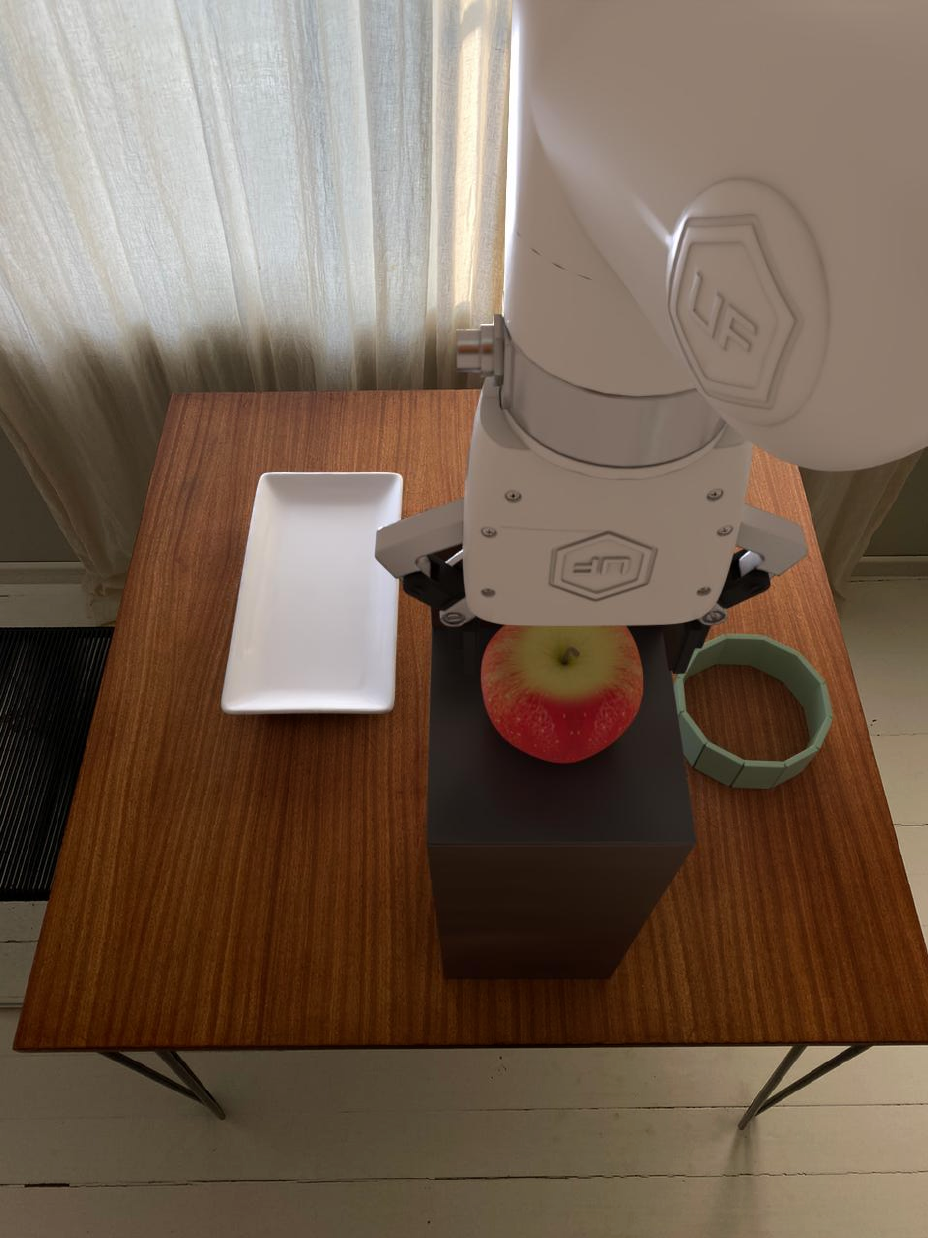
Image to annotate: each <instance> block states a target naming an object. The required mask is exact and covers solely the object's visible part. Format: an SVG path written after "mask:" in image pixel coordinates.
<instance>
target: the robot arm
mask: <svg viewBox="0 0 928 1238" xmlns="http://www.w3.org/2000/svg"><path fill="white" fill-rule="evenodd" d="M511 7H512V8H511V11H512V12H511V37H510V38H511V39H510V65H509V66H510V67H509V68H510V69H509V70H510V71H509V102H508V103H509V105H508V130H507V131H508V133H507V134H508V135H507V161H506V162H507V165H506V166H507V167H506V170H507V171H506V196H505V197H506V199H505V232H504V234H505V236H504V268H503V269H504V270H503V271H504V272H503V273H504V274H503V276H504V277H503V290H502V303H501V304H502V305H501V306H502V309H501V313H493V316H492V323H491V324H489V323H488V324H487V323H485V324H480V325H479V327H480V328H464V329H463V328H462V329H461V328H458V329H456V373H457V374H459V373H460V374H463V373H464V374H466V373H467V374H468V373H469V374H470V373H471V374H474V373H478V374H479V373H480V374H479V375H480V378H485V379H484V382H483V385H482V389H481V392H480V395H479V399H478V403H477V405H476V410H475V415H474V417H473V418H474V419H473V425H472V431H471V436H470V442H469V447H468V454H467V460H466V471H465V481H464V493H463V494H464V496H463V497H460V498H457V499H455V500H452V501H450V502H446V503H443V504H441V505H438V506H435V507H433V508H429V509H430V510H427V511H425V510H424V511H422V512H419V513H415V514H413V515H411V516H408V517H405V518H403V519H402V518H401V520H399V521H396V522H393V523H391V524H388V525H385V526H382V527H380V528H379V529H378V530H377V532H376V546H375V558H376V560H377V561H378V562H379V563H380V564H381V565H382V566H383V567H384V568H385V569H386V570H387V571H388V572H389V573H390V574H391V575H392V576H393V577H394V578H395V579H397V578H398V579H399V582H401V583H402V590H403V592H404V593H405V594H406V595H407V596H410V597H412V598H413V599H416V600H417V601H419V602H421V603H423V604H425V605H426V606H428V607H429V608H430V607H432V608H434V609H436V610H437V611H439V612H440V621H441V623H442V624H444V625H446V626H448V639H449V650H464V675H475V672H479V618H481V619H483V620H486V621H489V622H493V623H498V624H505V625H524V626H618V625H662V630H663V637H664V643H665V650H666V657H667V663H668V669H669V671H671V672H672V675H678V674H685V673H686V670H687V668H688V665H689V663H690V660H691V658H692V655H693V652H694V650H695V649H701V648H702V647H703V645H704V643H706V639H707V638H708V635H709V632H710V630H711V627H712V626H717V625H720V624H722V623H725V622H726V621H727V620H728V618H729V614H728V609H730V608H733V607H735V606H737V605H739V604H742V603H744V602H745V601H749V600H750V599H752V598H755V597H757V596H759V595H761V594H762V593H765V592H766V591H768V590H769V589H770V588H771V584H772V583H771V580H772V579H773V578H775V577H780V576H782V575H783V574H784V573H786V572H787V571H788V570H790V569H791V568H792V567H794V566H795V565H796V564H798V563H799V562H800V561H802V560H803V559H804V558H806V556H807V555H808V554H809V548H808V545H807V544H808V543H807V541H806V537H805V534H804V530H803V526H802V525H801V524H800V523H797V522H795V521H792V520H790V519H787V518H785V517H782V516H780V515H777V514H775V513H771V512H769V511H767V510H764V509H761V508H759V507H757V506H753V505H751V504H750V503H749V504H748V503H747V502H746V497H747V492H748V487H749V483H750V482H749V481H750V475H751V468H752V460H753V454H754V446H756V447H757V448H759V449H761V450H762V451H764V452H765V453H767V454H768V455H770V456H772V457H774V458H775V459H777V460H780V461H782V462H785V463H787V464H790V465H793V466H797V467H800V468H804V469H808V470H813V471H821V472H848V471H849V472H851V471H860V470H866V469H871V468H875V467H878V466H882V465H885V464H889V463H891V462H895V461H897V460H900V459H904V458H906V457H907V456H910V455H912V454H914V453H917V452H918V451H920V450H922V449H924V448H927V447H928V0H512V5H511ZM460 544H463V549H462V550H461V551H460V552H458V553H457V554H456V555H455V556H453V557H452V558H451V559H449V560H448V561H447V562H444V561H442V560H441V559H439V558H437V557H435V556H434V555H432V554H433V553H436V552H439V551H442V550H445V549H448V548H451V547H454V546H457V545H460ZM736 547H737V548H740V550H738V551H736V552H735V549H736Z"/></svg>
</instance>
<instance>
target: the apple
mask: <svg viewBox="0 0 928 1238" xmlns="http://www.w3.org/2000/svg"><path fill="white" fill-rule="evenodd" d="M481 686H482V692H483V698H484V702H485V706H486V709H487V712H488V714H489V717H490V719H491V721H492V723H493V725H494V727H495V728H496V730H497V731H498V732H499V733H500V734H501V736H502V737H503V738H504V739H506V740H507V741H508V742H509V743H510V744H512V745H513V746H515V747H516V748H518V749H520V750H521V751H523V752H525V753H527V754H529V755H532V756H534V757H536V758H539V759H542V760H546V761H550V762H555V763H572V762H577V761H581V760H583V759H586V758H588V757H590V756H592V755H594V754H596V753H598V752H599V751H601V750H603V749H604V748H606V747H607V746H609V745H610V744H611V743H613V742H614V741H615V740H616V739H617V738H618V737H619V736H620V735H622V733H623V732H624V731H625V730H626V729H627V728H628V727H629V726H630V724H631V723H632V721H633V720H634V718H635V716H636V714H637V712H638V710H639V707H640V703H641V699H642V694H643V671H642V665H641V660H640V656H639V652H638V649H637V646H636V643H635V641H634V639H633V636H632V635H631V633H630V631H629V629H628V628H627V627H626V625H618V626H524V625H504V626H503V627H502V628H501V629H500V630H499V631H498V632H497V633H496V634H495V635H494V637H493V638H492V639H491V640H490V642H489V644H488V645H487V648H486V650H485V653H484V656H483V660H482V667H481Z"/></svg>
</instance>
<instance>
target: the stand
mask: <svg viewBox="0 0 928 1238" xmlns="http://www.w3.org/2000/svg"><path fill="white" fill-rule="evenodd" d="M430 509H431V508H429V509H428V508H427V509H426V508H425V509H424V511H427V510H430ZM462 549H463V544H460V545H457V546H454V547H451V548H448V549H445V550H442V551H439V552H436V553H433V554H432V555H434V556H435V557H437V558H439V559H441V560H442V561H444V562H447V561H448V560H449V559H451V558H452V557H453V556H455V555H456V554H457V553H458V552H460V551H461V550H462ZM429 610H430V623H431V626H430V627H431V641H430V643H431V644H430V675H429V677H430V678H429V679H430V680H429V714H428V752H427V753H428V754H427V756H428V757H427V789H426V790H427V791H426V793H427V794H426V829H425V833H426V834H425V839H426V840H425V844H426V852H427V858H428V867H429V873H430V881H431V883H430V884H431V888H432V889H431V890H432V897H433V904H434V912H435V913H434V914H435V920H436V927H437V929H436V930H437V937H438V945H439V951H440V959H441V965H442V966H441V967H442V975H443V979H444V980H610V979H611V978H612V976H613V975H614V974H615V972H616V970H617V969H618V967H619V966H620V964H621V963H622V961H623V959H624V958H625V956H626V954H627V953H628V951H629V950H630V948H631V946H632V945H633V943H634V942H635V940H636V939H637V938H638V935H639V934H640V932H641V930H642V929H643V927H644V926H645V924H646V923H647V921H648V919H649V918H650V916H651V915H652V914H653V912H654V910H655V908H657V905H658V903H659V902H660V901H661V899H662V897H663V896H664V894H665V893H666V891H667V890H668V889H669V887H670V885H671V884H672V882H673V880H674V878H675V877H676V876H677V874H678V872H679V871H680V869H681V868H682V866H683V865H684V862H685V861H686V860H687V858H688V857H689V855H690V854H691V851H692V850H693V849H694V847H695V845H697V843H698V839H697V833H696V827H695V826H696V825H695V819H694V814H693V805H692V801H691V799H692V798H691V793H690V787H689V786H690V785H689V779H688V773H687V767H686V758H685V756H684V752H683V746H682V739H681V732H680V726H679V719H678V712H677V706H676V699H675V692H674V679H673V672H672V671H669V669H668V663H667V657H666V650H665V643H664V637H663V630H662V625H626V627H627V628H628V629H629V631H630V633H631V635H632V636H633V639H634V641H635V643H636V646H637V649H638V652H639V656H640V660H641V665H642V671H643V694H642V699H641V703H640V707H639V710H638V712H637V714H636V716H635V718H634V720H633V721H632V723H631V724H630V726H629V727H628V728H627V729H626V730H625V731H624V732H623V733H622V735H620V736H619V737H618V738H617V739H616V740H615V741H614V742H613V743H611V744H610V745H609V746H607V747H606V748H604V749H603V750H601V751H599V752H598V753H596V754H594V755H592V756H590V757H588V758H586V759H583V760H581V761H577V762H572V763H555V762H550V761H546V760H542V759H539V758H536V757H534V756H532V755H529V754H527V753H525V752H523V751H521V750H520V749H518V748H516V747H515V746H513V745H512V744H510V743H509V742H508V741H507V740H506V739H504V738H503V737H502V736H501V734H500V733H499V732H498V731H497V730H496V728H495V727H494V725H493V723H492V721H491V719H490V717H489V714H488V712H487V709H486V706H485V702H484V698H483V692H482V686H481V667H482V660H483V656H484V653H485V650H486V648H487V645H488V644H489V642H490V640H491V639H492V638H493V637H494V635H495V634H496V633H497V632H498V631H499V630H500V629H501V628H502V627H503V626H504V625H505V624H498V623H493V622H489V621H486V620H483V619H481V618H479V672H475V675H464V650H449V639H448V626H446V625H444V624H442V623H441V621H440V612H439V611H437V610H436V609H434V608H432V607H430V606H429Z"/></svg>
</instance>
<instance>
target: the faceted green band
mask: <svg viewBox="0 0 928 1238" xmlns="http://www.w3.org/2000/svg"><path fill="white" fill-rule="evenodd" d="M714 665H729V666H731V665H733V666H750V667H752V668H754V669H756V670H758V671H760V672H762V673H764V674H766V675H768V676H771V677H772V678H775V679H776V680H778V681H781V682H782V684H783V685H784V686H785V687H786V689H787V690H788V691H789V692H790V693H791V694H792V695H793V697H794V698H795V699H796V700H797V702H798V703H799V704H800V705H801V706H802V708H803V709H804V715H805V720H806V725H807V731H808V736H809V742H807V745H806V747H805V750H803V751H801V752H799V753H797V754H795V755H793V756H791V757H790V758H788V759H786V760H784V761H769V760H745V759H743V758H741V757H739V756H737V755H736V754H733V753H731V752H730V751H727V750H726V749H724V748H722V747H720V746H718V745H716V744H714V743H713V742H710V741H709V739H707V737H706V735H704V733H703V732H702V730H701V729H700V728H699V726H698V725H697V723H696V722H695V721H694V720H693V718H692V717H691V716H690V714H689V712H687V705H686V703H687V702H686V696H685V695H686V694H685V686H684V685H685V684H686V681H687V680H688V678H691V677H692V676H694V675H696V674H698V673H700V672H702V671H704V670H707V669H708V668H710V667H712V666H714ZM673 686H674V692H675V699H676V706H677V712H678V719H679V726H680V732H681V739H682V746H683V752H684V758H685V759H686V760H687V761H688V763H689V764H690V765H691V767H693V768H694V769H695V770H697V771H698V772H701V773H702V774H703V775H706V776H708V777H710V778H711V779H713V780H715V781H717V782H719V783H720V784H722V785H724V786H726V787H730V788H732V789H733V788H734V789H736V788H737V789H755V790H757V789H759V790H770V789H774V788H775V787H777V786H779V785H781V784H783V783H785V782H787V781H789V780H791V779H792V778H794V777H796V776H798V775H800V774H802V772H803V771H804V770H805V769H806V768H807V767H808V765H809V764H810V762H811V761H812V760H813V758H814V757H815V756H816V755H817V753H818V752H819V751H820V749H821V748H822V745H823V743H824V741H825V739H826V737H827V736H828V735H827V734H828V732H829V730H830V728H831V726H832V723H833V721H834V714H833V708H832V704H831V699H830V694H829V690H828V685H827V683H826V681H825V679H824V678H823V677H822V676H821V675H820V673H819V672H818V671H817V670H816V669H815V668H814V666H813V665H812V664H811V663H810V661H808V659H806V657H805V656H804V655H803V654H802V653H800V651H798V650H796V649H794V648H792V647H790V646H788V645H785V644H783V643H781V642H780V641H777V640H775V639H774V638H771V637H769V636H767V635H763V634H746V633H725V634H721V635H719V636H717V637H715V638H713V639H711V640H708V641H707V642H706V641H705V642H704V645H703V647H702V648H701V649H695V650H694V652H693V655H692V658H691V660H690V663H689V665H688V668H687V670H686V673H685V674H677V675H676V678H675V681H674V682H673Z"/></svg>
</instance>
